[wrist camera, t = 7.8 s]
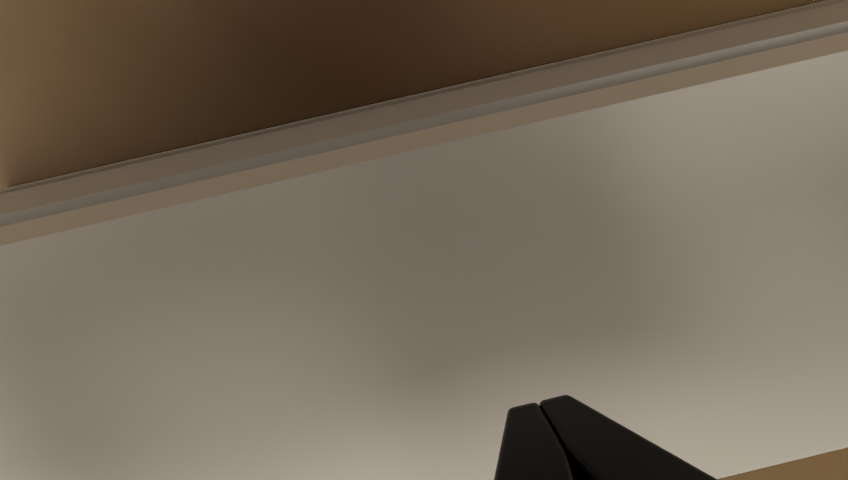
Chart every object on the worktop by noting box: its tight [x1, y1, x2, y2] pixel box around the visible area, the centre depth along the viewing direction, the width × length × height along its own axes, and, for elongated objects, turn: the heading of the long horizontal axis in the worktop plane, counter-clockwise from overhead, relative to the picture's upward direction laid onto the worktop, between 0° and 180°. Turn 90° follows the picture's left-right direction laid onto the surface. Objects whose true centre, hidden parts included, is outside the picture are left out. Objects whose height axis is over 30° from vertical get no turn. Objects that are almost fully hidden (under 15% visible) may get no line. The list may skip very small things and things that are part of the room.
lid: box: [0, 32, 848, 480], centre depth 11 cm, size 20×8×1 cm, turn 102°
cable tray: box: [0, 0, 848, 227], centre depth 14 cm, size 20×8×4 cm, turn 102°
